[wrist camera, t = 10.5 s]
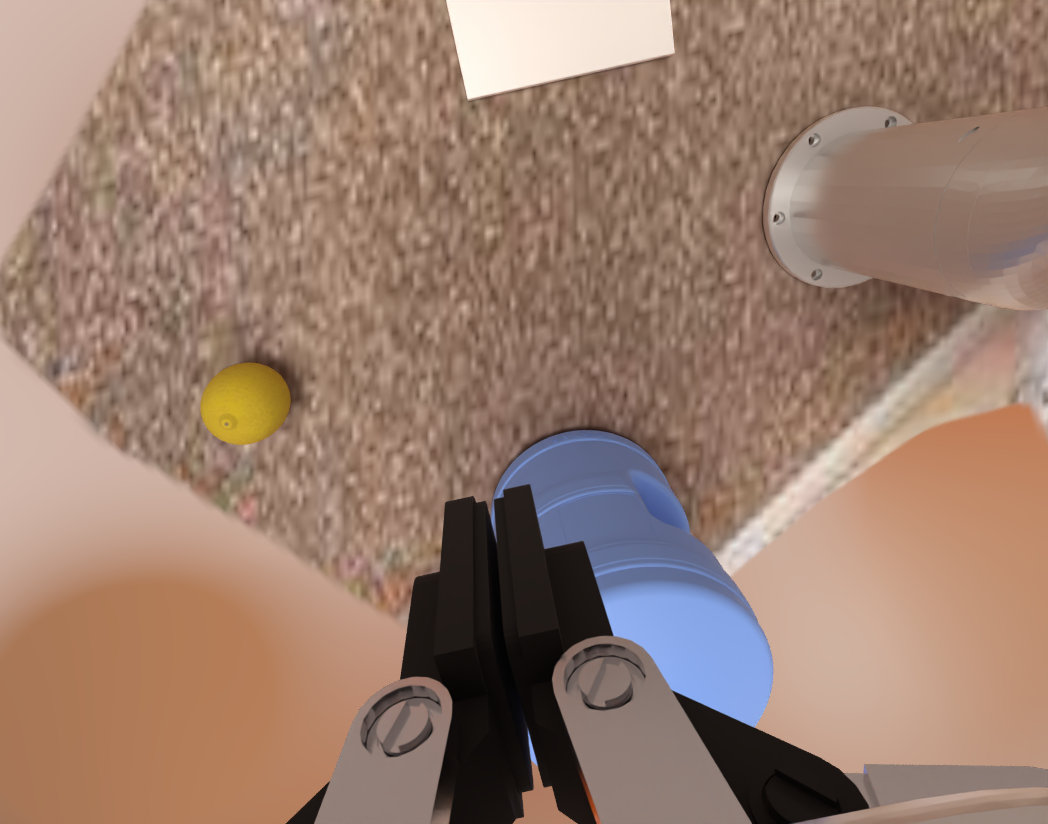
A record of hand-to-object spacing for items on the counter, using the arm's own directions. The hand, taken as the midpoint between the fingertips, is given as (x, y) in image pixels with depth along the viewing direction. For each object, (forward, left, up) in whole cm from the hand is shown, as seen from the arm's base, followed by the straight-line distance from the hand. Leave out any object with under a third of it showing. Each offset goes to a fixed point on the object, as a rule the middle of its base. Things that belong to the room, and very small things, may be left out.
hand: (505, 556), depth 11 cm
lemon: (+18, +4, -35) cm, 40 cm away
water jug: (-4, +21, -35) cm, 41 cm away
